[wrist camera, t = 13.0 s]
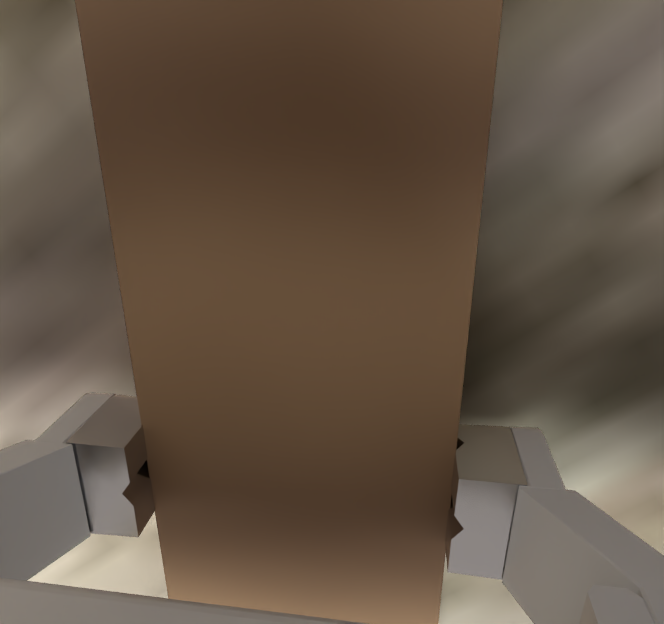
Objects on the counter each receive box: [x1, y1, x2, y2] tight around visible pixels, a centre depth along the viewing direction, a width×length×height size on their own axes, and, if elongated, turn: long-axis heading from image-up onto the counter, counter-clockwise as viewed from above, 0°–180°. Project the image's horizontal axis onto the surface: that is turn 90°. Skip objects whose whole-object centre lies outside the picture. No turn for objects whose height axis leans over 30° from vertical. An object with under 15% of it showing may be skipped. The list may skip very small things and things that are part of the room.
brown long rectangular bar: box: [75, 0, 503, 624], centre depth 10 cm, size 20×5×3 cm, turn 0°
